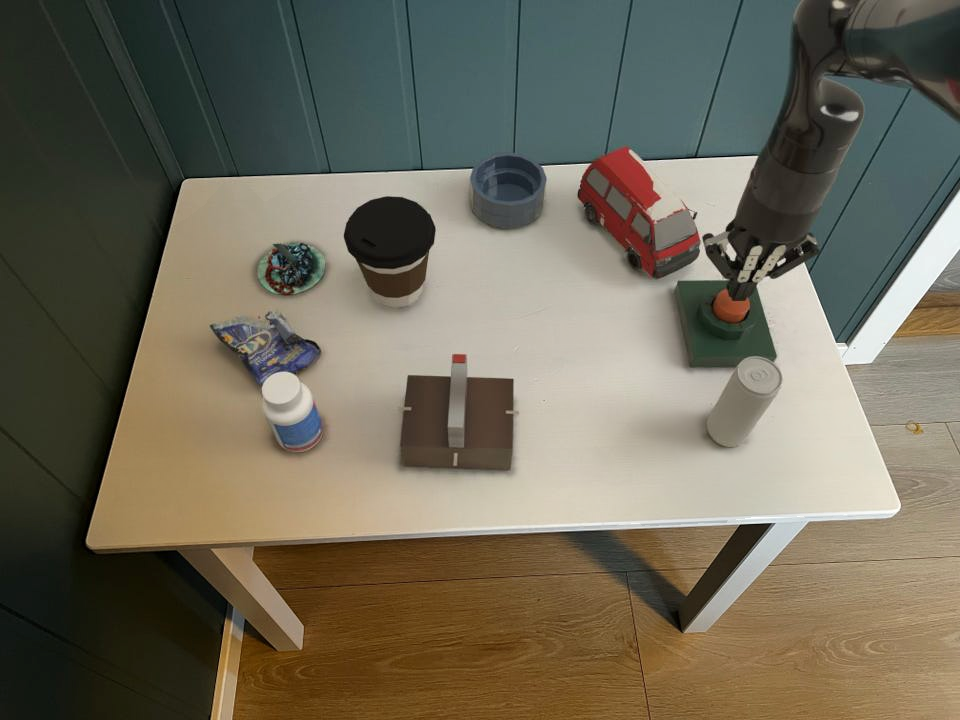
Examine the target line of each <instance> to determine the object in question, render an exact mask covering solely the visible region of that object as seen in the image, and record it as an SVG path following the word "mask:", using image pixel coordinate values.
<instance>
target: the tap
mask: <svg viewBox="0 0 960 720" xmlns="http://www.w3.org/2000/svg"><path fill="white" fill-rule="evenodd" d="M450 369H451V370H450V371H451V372H450V376H451V382H450V397H449V412H448V441H449V447H459V448H464V436H465V416H466V397H467V377H469V375H468V354H467V353H452V355H451V368H450Z"/></svg>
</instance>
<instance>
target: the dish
mask: <svg viewBox="0 0 960 720" xmlns="http://www.w3.org/2000/svg"><path fill="white" fill-rule="evenodd" d="M272 246H273V247H274V248H273V249H271V251H269V252H268V253H267V254H265V255H264V257H263V258H261V260H260V261H259V264H258V267H257V278H258V280H259V283H260V284H261V286H262V287H263V288H265V289H266V290H267V291H269V292H271V293H273V294H276V295H280V296H283V294H284V296H286V295H287V294H289V295H290V296H291V295H295V294H299V293H302V292H305V291H307V290H310V289H311V288H313V287H314V286H315V285H316V284H317V283H319V281H321V278H322V277H323V275H324V274H325V271H326V260H325V257H324V255H323V254H322V253H321V252H320V251H319V250H317V249H316V248H315V247H313V246H310V245H308V244H306V243H304V242H300V243H298V242H295V241H292V242H291V241H289V242H286V243H282V242H281V243H280V242H279V243H272Z"/></svg>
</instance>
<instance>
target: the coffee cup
mask: <svg viewBox="0 0 960 720" xmlns="http://www.w3.org/2000/svg"><path fill="white" fill-rule="evenodd" d="M436 232H437V229H436V224H435V222H434V220H433V217H432V215H431V213H429V212H428V211H427V210H426V209H425V208H424V207H423V206H422V205H421V204H419V202H417V201H415V200H411V199H410V198H406V197H404V196H392V195H391V196H390V195H389V196H387V195H386V196H381V197H378V198H373V199H369V200H368V201H366V202H365V203H363V204H361V205H359V206H358V207H356V208H355V210H354V211H353V212H352V213H351V215H350V216H349V217H348V219H347V221H346V223H345V228H344V231H343V241H344V243H345V247H346V249H347V253H349V254H350V255H351V256H352V257H353V259H355V261H356V263H357V265H358V267H359V269H360V272H361V275H362V276H363V279H364V281H365V283H366V285H367V287H368V288H369V289H370V291H371V294H372V295H373V297H374V298H375V299H376V300H377V301H378V302H379V303H380V304H382V305H384V306H386V307H388V308H392V309H401V308H405V307H409V306H410V305H412V304H413V303H415V302H416V301H417V300H418V299H419V297H420V296H421V294H422V293H423V289H424V283H425V281H426V277H427V270H428V263H429V258H430V257H429V255H430V250H431V248H432V247H433V246H434V245H435V240H436Z"/></svg>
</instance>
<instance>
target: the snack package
mask: <svg viewBox="0 0 960 720" xmlns="http://www.w3.org/2000/svg"><path fill="white" fill-rule="evenodd" d="M264 317H265V320H266V321H269V322H263V321H257V320H256V321H255V320H253V319H249V318H247V317H244V316H235V317H234V319H232V320H226V321H223V322H220V323H211V324H209V328H210V329H211V331H212V332H213V334H214V336H215V337H217V339H218V340H219V341H220V342H221V343H222V344H223V345H224V346H225V347H227V348H228V350H230V351H231V352H232V353H234V354H236V356H238V357H239V358H240V360H241V362H242V364H243V366H244V367H245V369H246V371H247V372H248V373H249V374H250V375H251V376H252V377H253V378H254V380H255V381H256V382H257V383H258V385H260V386H261V387H262V386H263V383H264V382H265V380H266V379H267V378H268V377H270V376H271V375H273V374H275V373H278V372H289V373H292V374H297V372H299V371H301V370H303V369H307V368H308V366H311V364H312V363H313V362H314V361H315V360H316V358H318V356H319V355H320V354H321V353H322V349H321V347H320V345H319V344H318V343H317V341H314V340H311V339H306V338H304V337H302V336H300V335H298V334H297V332H295V330H294V329H293V328H292V326H291V325H290V323H289V321H288V319H287V317H286V316H284V314H283V313H281V312H280V311H278V310H277V309H275V310H272V311H268V312H267V313H266V314H265V315H264ZM257 319H258V320H259V319H261V317H260V315H259V316H258V317H257Z"/></svg>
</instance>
